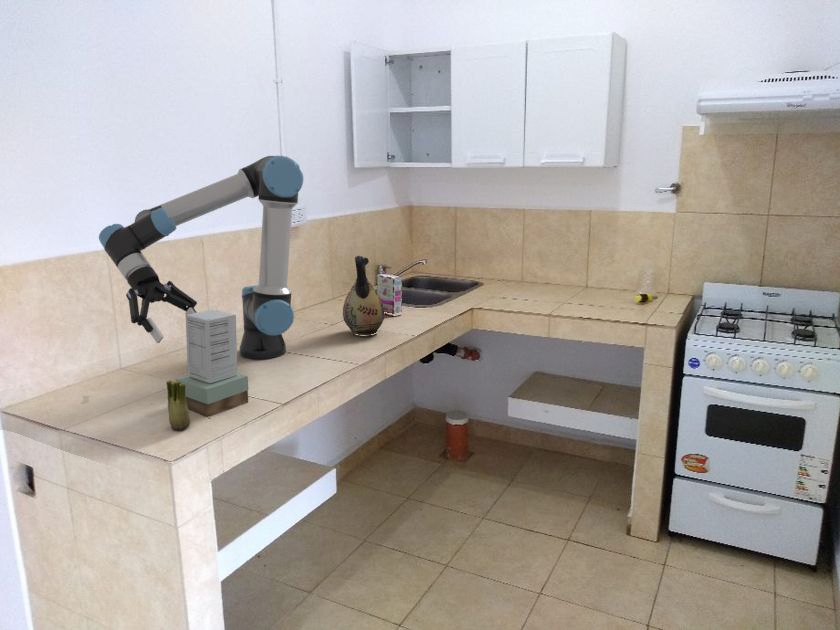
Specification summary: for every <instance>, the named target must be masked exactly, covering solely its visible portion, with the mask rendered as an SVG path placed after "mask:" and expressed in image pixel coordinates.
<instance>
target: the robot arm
mask: <svg viewBox="0 0 840 630" xmlns="http://www.w3.org/2000/svg"><path fill="white" fill-rule="evenodd" d="M303 184H304V173H303V170H302V168H301V166H300V165H299V164H298V162H296V161H295V160H294V159H292V158H291V157H289V156H285V155H268V156H263V157H262V158H260V159H259V160H256V161H254V162H253V163H251V164H249V165H247V166H244V167H242V168H240V169H238V172H237V173H236V174H234V175H231V176H229V177H226V178H223V179H222V180H219V181H216V182H214V183H211V184H209V185H206V186H203V187H200V188H199V189H197V190H194V191H192V192H189V193H186V194H184V195H181V196H179V197H177V198H176V197H175V198H173V199H171V200H169V201H167V202H164V203H162V204H160V205H157V206H154V207H152V208H149V209H143V210H141V211H139V212H138V213H137V214H136V216H135V219H134V222H132V223H131V224H129V225H127V226H123V225H122V224H120V223H114V224H112V225H111V224H110V225H107V226H105V228H103V229H102V230H100V233H99V235H98V241H99V242H100V244H101V246H102V248H103V249H104V251H105V253H106V254H107V255H108V256H109V258H110V259H111V261H112V262H113V264H114V265H115V266H116V268H117V269H118V271H119V272H120V273H121V275H122V276H123V278H124V279H125V280H126V282H127V284H128V285H129V287H130V288H129V289H128V291H127V293H126V294H125V296H126V298H127V300H128V303H129V304H128V305H129V313H130V314H129V315H130V322H131V323H132V324H136V323H137V324H136V325H138V326H139V327H140V326H142V327H143V329H144V330H145V331H146V332H147V334H150V335H151V337H152V338H153V339H154V341H155V343H156V344H160V343H161V341H162V340H163V339H164V338H165V337H164V335H163V334H162V332H161V330H160V329H159V328H158V326H157V325H156V324H155V322H154V321H153V319H152V317H148V314H149V313H148V312H149V307H150V304H154V303H156V302H161V301H162V302H163V303H168V304H171V305H172V306H175V307H177V308H178V309H180V310H182V311H184V312H185V313H184V314H185V315H187V314H192V313H197V311H196V309H195V307H196V306H197V304H198V302H197V300H195V299H193V297H192V296H190V295H188V294H187V293H186V292H184V291H182V290H181V289H179V288H178V287H177V286H176V285H175V284H174V283H173V282H172V281H171V280H168V281H167V283H164V284H163V283H162V282H161V281H160V279H159V274H158V273H157V272H156V271H155V270H154V268H153V266H152V265H151V264H150V262H149V261H148V260H147V258H146V257H145V255H144V254H143V253H142V251H143V250H145V249H146V248H148V247H150V246H152V245H153V244H155V243H157V242H159V241H160V240H162V239H164V238H165V237H168V236H169V235H170V234H172V233H174V232H175V231H176V230H177V226H180V225H182V224H184V223H187V222H189V221H192V220H194V219H197V218H199V217H202V216H205V215H207V214H209V213H211V212H214V211H217V210H218V209H219V210H220V209H221V208H224V207H226V206H228V205H231V204H233V203H236V202H240V200H244V199H246V198H251V199H254V198H256V197H258V201H259V203H260V204H261V205H262V206H263V207H262V221H261V238H260V257H259V274H258V275H259V276H258V284H256V285H248V286H244V287H243V288H242V290H241V299H242V318H243V333H242V334H243V335H242V337H241V342H240V345H239V355H240V356H241V357H243V358H246V359H249V360H250V359H252V360H265V359H267V358H268V359H273V357H274V358H277V356H278V357H280V355H281V356H283V355H284V354H286V353H287V351H286V350H287V345H286V342H285V339H284V338H283V334H284V333H286V331H288V330H289V329H290V328H291V327H292V325H293V322H294V319H295V314H294V310H293V307H292V304H291V303H292V290H291V289H290V288H289V287H288V279H289V278H288V275H289V263H290V262H289V260H290V248H291V245H290V244H291V230H292V216H293V214H292V213H293V208H295V207H296V206H297V205H298V203H299V201H298V200H299V192H300V191H301V189H302V187H303ZM138 298H140V299H141V303H140V305H141V306H140V308H139V300H138ZM139 309H140V310H139ZM282 354H283V355H282Z"/></svg>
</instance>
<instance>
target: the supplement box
mask: <svg viewBox="0 0 840 630" xmlns="http://www.w3.org/2000/svg"><path fill="white" fill-rule="evenodd" d="M196 312H197V311H196ZM185 335H186V336H185V337H186V357H187V358H186V360H187V375H188V376H190V377H193V378H196V379H199V380H201V381H204V382H207V383H213V382H216V381H220V380H223V379H227V378H230V377H233V376H237V373H238V350H237V349H238V348H237V347H238V346H237V345H238V344H237V343H238V342H237V341H238V339H237V314H233V313H230V312H226V311H221V310H218V309H209V310H204V311H198V312H197V313H192V314H187V315H186V314H185Z"/></svg>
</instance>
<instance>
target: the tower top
mask: <svg viewBox="0 0 840 630" xmlns="http://www.w3.org/2000/svg"><path fill="white" fill-rule="evenodd" d="M178 381H180V382H181V383H184V384H185V394H186V397H189V398H191V399H194V400H197V401H200V402H203V403H205V404H210V403H213V402H216V401H219V400H222V399H225V398H227V397H230V396H233V395H236V394H239V393H242V392H244V391H247V390H248V391H249V377H248V375H246V374H242V373H240V372H239V373H238V372H237V376H233V377H230V378H227V379H223V380H220V381H216V382H213V383H207V382H204V381H201V380H199V379H196V378H193V377H190V376H188V374H187V375H183V376H180V377H177V378H175V382H176V383H177V382H178Z"/></svg>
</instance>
